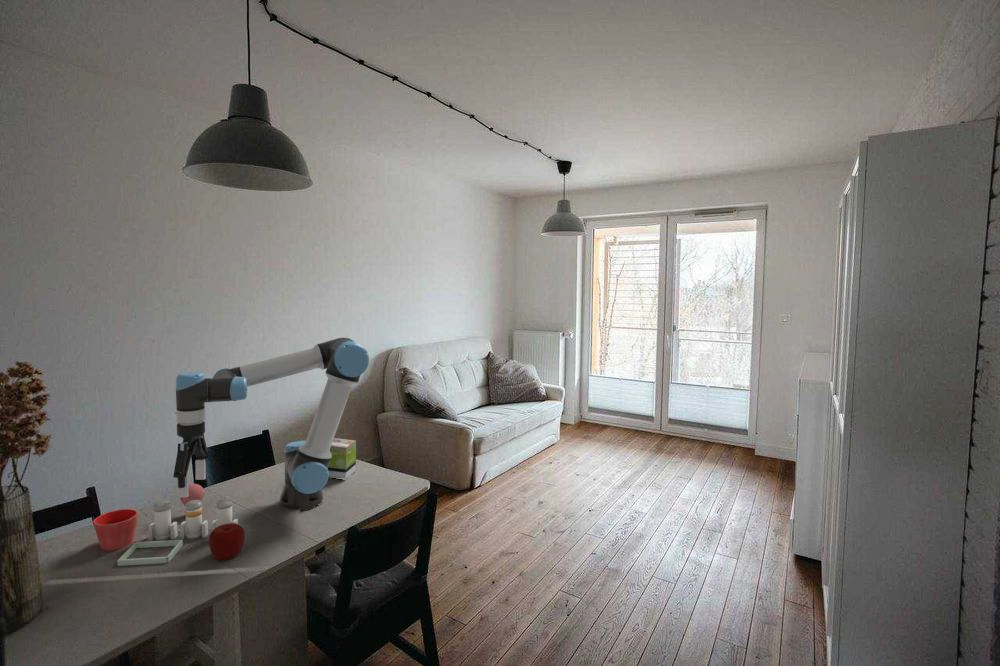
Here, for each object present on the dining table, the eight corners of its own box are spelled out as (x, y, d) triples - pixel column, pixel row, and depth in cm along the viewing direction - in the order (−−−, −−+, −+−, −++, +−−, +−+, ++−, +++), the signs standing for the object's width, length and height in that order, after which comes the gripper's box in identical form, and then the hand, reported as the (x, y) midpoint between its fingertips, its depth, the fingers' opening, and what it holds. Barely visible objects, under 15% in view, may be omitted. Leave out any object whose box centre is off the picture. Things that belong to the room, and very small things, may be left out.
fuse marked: (205, 532, 166) (204, 499, 165) (199, 539, 162) (198, 506, 160) (189, 532, 165) (188, 500, 164) (183, 540, 161) (182, 506, 159)
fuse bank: (243, 530, 170) (243, 514, 169) (236, 543, 162) (235, 526, 161) (153, 535, 165) (153, 518, 164) (141, 548, 157) (140, 531, 156)
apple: (221, 548, 159) (220, 517, 158) (251, 549, 159) (250, 519, 157) (202, 565, 149) (201, 532, 148) (234, 567, 149) (234, 534, 148)
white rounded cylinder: (234, 530, 168) (234, 498, 166) (230, 537, 163) (229, 504, 162) (219, 531, 167) (219, 499, 166) (214, 538, 162) (214, 505, 161)
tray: (183, 547, 158) (183, 539, 158) (168, 565, 149) (168, 557, 148) (135, 550, 156) (135, 542, 156) (117, 569, 146) (117, 560, 146)
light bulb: (193, 524, 173) (192, 490, 172) (175, 521, 174) (174, 487, 173) (209, 514, 180) (208, 481, 178) (192, 512, 181) (191, 479, 180)
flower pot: (101, 541, 160) (99, 511, 159) (142, 535, 165) (141, 506, 164) (89, 558, 151) (87, 527, 150) (134, 551, 155) (133, 521, 154)
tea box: (312, 477, 215) (312, 443, 214) (324, 468, 225) (324, 436, 223) (345, 481, 213) (346, 446, 211) (356, 472, 223) (356, 439, 221)
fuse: (174, 533, 164) (173, 500, 163) (168, 540, 160) (166, 507, 159) (158, 534, 164) (157, 501, 162) (152, 541, 159) (150, 507, 158)
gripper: (193, 411, 171) (195, 472, 173) (158, 434, 146) (160, 505, 149) (218, 411, 172) (219, 472, 174) (187, 434, 148) (189, 504, 150)
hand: (192, 487), depth 162 cm, fingers open, 13 cm apart
